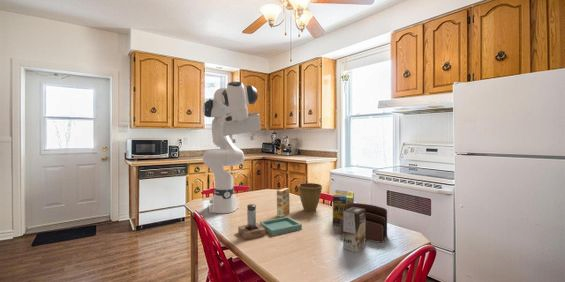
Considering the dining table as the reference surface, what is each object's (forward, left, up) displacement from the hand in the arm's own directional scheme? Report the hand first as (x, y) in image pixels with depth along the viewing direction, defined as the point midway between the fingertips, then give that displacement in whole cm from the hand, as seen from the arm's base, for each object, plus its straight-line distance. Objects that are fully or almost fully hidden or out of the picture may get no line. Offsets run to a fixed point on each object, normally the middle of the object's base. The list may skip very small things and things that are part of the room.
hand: (243, 141), depth 134 cm
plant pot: (-6, +47, -45) cm, 65 cm away
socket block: (+11, 0, -45) cm, 46 cm away
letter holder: (+39, +46, -45) cm, 75 cm away
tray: (+11, +16, -45) cm, 49 cm away
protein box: (+20, +51, -45) cm, 71 cm away
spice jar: (+11, 0, -45) cm, 46 cm away
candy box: (-7, +28, -45) cm, 53 cm away
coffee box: (+46, +33, -45) cm, 72 cm away
